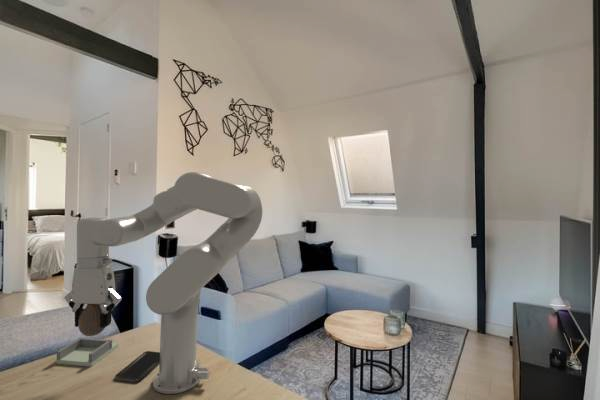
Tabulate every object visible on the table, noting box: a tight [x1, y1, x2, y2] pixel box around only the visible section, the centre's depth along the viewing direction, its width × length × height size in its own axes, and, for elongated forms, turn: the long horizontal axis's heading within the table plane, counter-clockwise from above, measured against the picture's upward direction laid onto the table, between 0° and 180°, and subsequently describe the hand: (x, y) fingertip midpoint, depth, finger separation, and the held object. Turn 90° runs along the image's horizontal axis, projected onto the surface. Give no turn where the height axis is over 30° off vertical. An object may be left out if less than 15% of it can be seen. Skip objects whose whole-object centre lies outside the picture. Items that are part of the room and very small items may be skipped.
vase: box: [78, 304, 106, 337], centre depth 89 cm, size 7×7×9 cm
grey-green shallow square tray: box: [56, 337, 119, 368], centre depth 99 cm, size 11×12×4 cm
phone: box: [114, 350, 160, 384], centre depth 94 cm, size 8×1×15 cm
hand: (93, 324), depth 89 cm, fingers closed on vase, 6 cm apart
